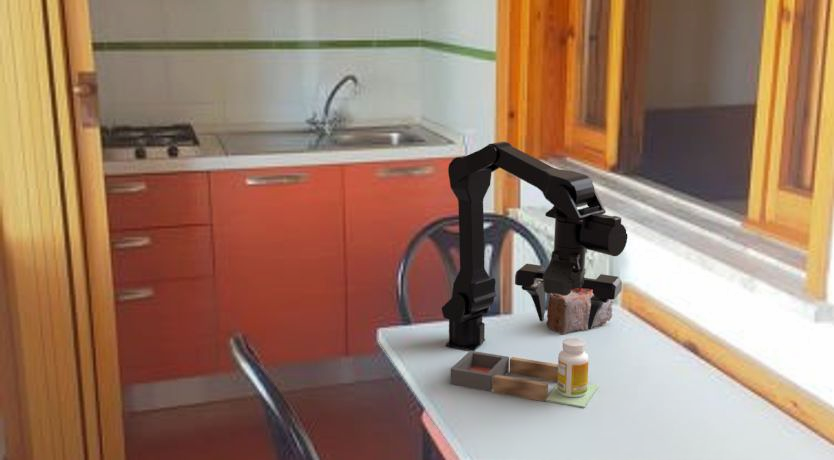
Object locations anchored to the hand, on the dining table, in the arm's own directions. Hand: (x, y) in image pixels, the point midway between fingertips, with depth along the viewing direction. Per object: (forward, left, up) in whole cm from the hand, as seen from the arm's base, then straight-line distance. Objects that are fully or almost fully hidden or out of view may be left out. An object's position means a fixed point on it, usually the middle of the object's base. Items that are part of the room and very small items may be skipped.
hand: (565, 324), depth 172 cm
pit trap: (-15, -6, -11) cm, 19 cm away
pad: (+3, -6, -11) cm, 13 cm away
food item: (-5, +29, -11) cm, 32 cm away
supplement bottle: (+3, -5, -11) cm, 13 cm away
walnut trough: (-5, -6, -11) cm, 13 cm away
